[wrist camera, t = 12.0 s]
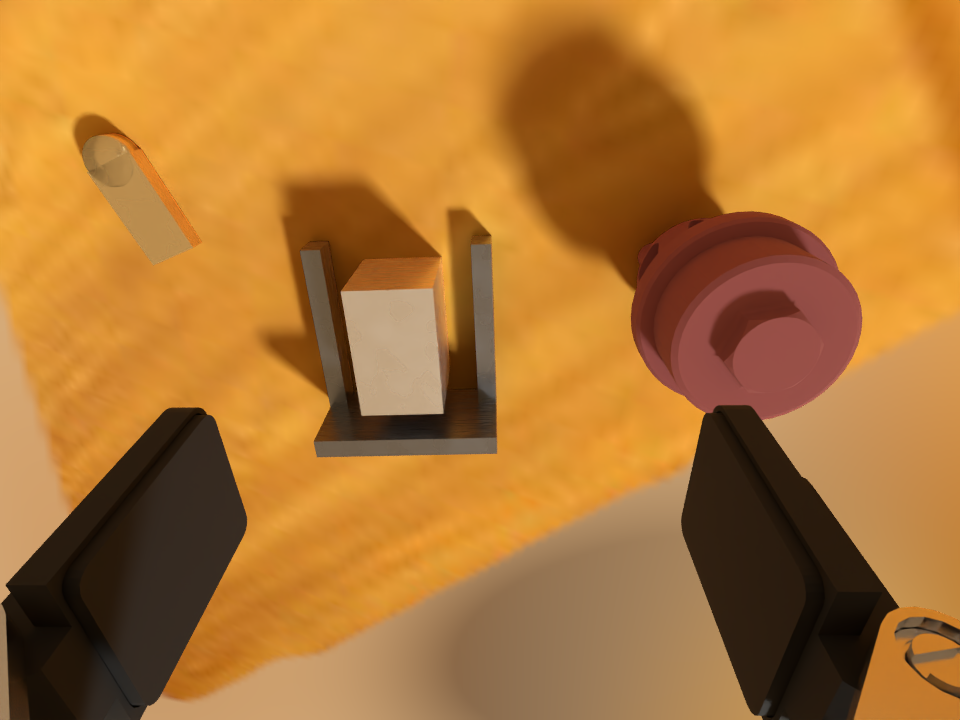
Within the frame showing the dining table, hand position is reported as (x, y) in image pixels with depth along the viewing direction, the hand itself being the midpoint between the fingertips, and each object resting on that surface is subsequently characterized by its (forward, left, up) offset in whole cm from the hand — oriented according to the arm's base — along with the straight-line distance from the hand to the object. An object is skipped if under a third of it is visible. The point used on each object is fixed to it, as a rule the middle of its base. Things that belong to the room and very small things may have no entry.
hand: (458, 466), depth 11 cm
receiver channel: (+8, -5, -25) cm, 27 cm away
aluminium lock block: (+7, -5, -25) cm, 27 cm away
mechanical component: (+5, +13, -25) cm, 29 cm away
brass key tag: (0, -20, -25) cm, 32 cm away
